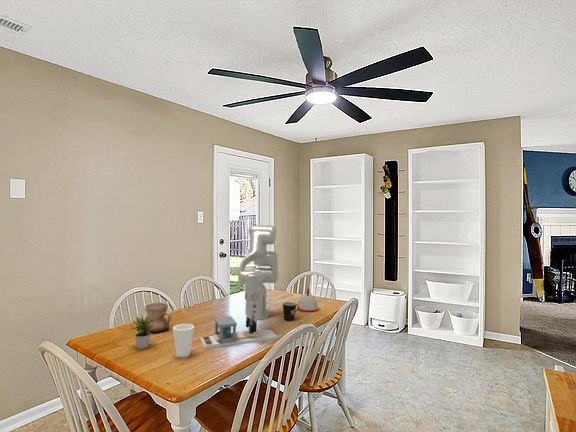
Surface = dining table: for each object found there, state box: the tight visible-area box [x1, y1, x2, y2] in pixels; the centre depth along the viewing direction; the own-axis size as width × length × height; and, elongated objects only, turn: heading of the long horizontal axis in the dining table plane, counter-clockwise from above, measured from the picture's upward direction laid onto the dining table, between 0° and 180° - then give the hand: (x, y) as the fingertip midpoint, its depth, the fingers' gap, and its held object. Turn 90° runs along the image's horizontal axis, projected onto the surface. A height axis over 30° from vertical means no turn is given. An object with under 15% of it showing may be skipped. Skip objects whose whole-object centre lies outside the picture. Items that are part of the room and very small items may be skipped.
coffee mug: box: [282, 301, 299, 322], centre depth 222 cm, size 12×9×10 cm
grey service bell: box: [297, 287, 319, 314], centre depth 245 cm, size 14×14×15 cm
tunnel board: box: [200, 315, 279, 350], centre depth 184 cm, size 38×13×11 cm, turn 113°
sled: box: [213, 320, 257, 342], centre depth 183 cm, size 21×8×8 cm, turn 113°
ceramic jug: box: [143, 301, 172, 333], centre depth 196 cm, size 18×14×14 cm
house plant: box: [128, 313, 158, 350], centre depth 170 cm, size 14×14×16 cm
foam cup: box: [172, 323, 195, 358], centre depth 163 cm, size 10×9×13 cm
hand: (251, 329), depth 186 cm, fingers open, 7 cm apart
